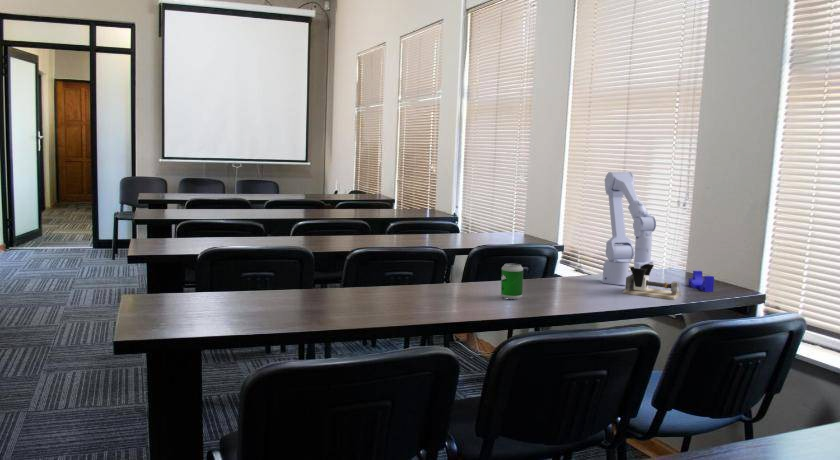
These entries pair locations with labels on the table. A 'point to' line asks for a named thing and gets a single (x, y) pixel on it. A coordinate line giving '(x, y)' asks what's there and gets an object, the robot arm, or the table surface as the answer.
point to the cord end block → (643, 284)
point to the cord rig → (653, 292)
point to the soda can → (512, 281)
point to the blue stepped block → (701, 282)
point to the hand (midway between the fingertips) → (641, 284)
